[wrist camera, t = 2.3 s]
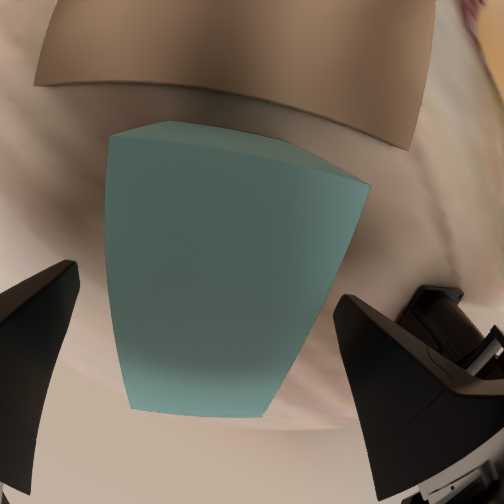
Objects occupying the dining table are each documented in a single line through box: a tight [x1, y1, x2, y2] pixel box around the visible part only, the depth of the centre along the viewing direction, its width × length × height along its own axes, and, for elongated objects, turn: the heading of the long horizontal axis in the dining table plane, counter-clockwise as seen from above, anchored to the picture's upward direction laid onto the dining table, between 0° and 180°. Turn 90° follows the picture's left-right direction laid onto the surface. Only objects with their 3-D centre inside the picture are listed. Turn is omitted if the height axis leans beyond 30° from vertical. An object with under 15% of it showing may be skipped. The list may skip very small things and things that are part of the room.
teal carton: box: [105, 120, 371, 418], centre depth 9 cm, size 5×9×7 cm, turn 167°
